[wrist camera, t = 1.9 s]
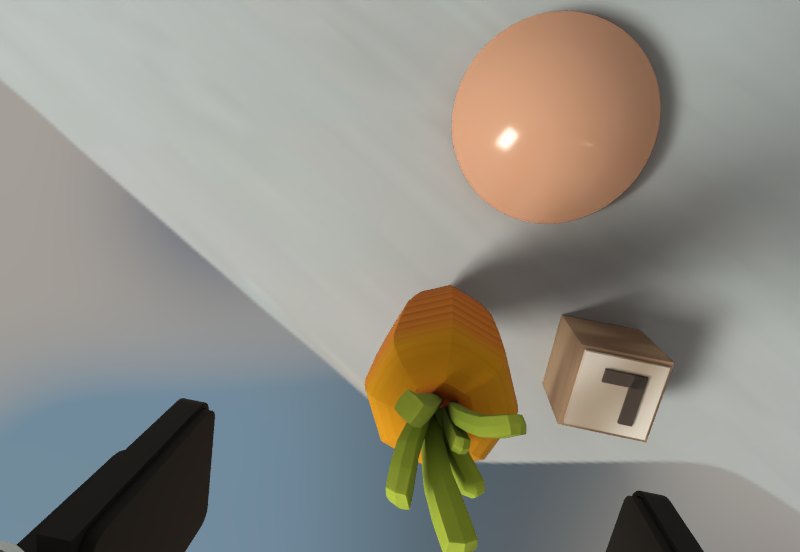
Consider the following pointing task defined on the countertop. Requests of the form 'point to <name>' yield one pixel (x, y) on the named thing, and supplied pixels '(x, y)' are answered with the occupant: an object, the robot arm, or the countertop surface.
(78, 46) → the countertop surface
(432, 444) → the carrot
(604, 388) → the letter cube
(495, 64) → the peach glossy dome
